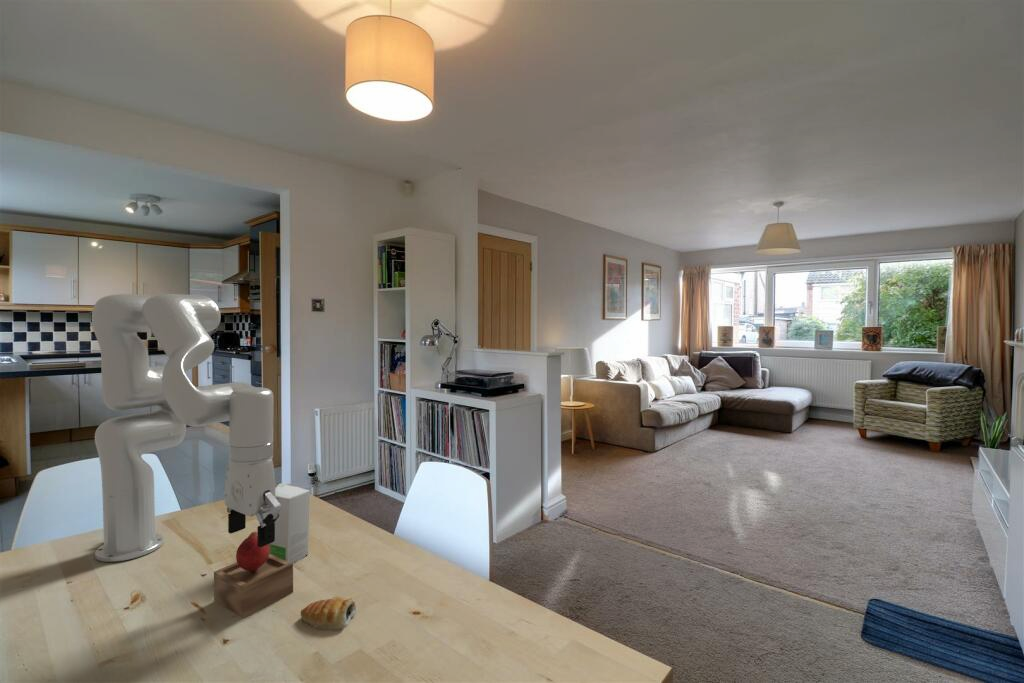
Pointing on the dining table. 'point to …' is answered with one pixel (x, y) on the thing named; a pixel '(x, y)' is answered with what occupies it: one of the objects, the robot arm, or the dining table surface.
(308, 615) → the pastry
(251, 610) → the wooden crate
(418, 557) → the dining table surface
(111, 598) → the dining table surface
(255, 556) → the onion
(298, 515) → the skincare box
